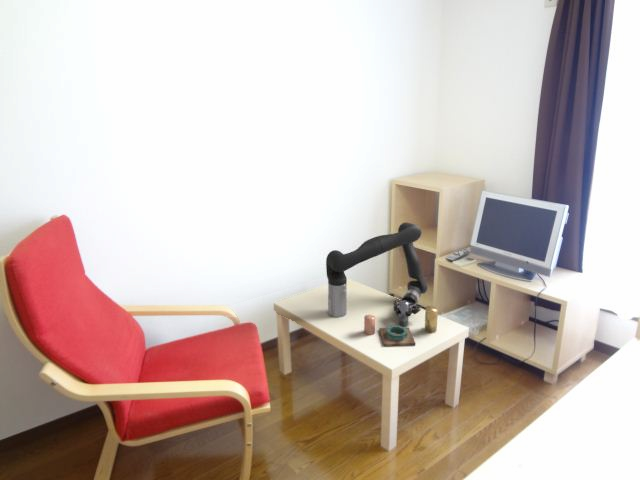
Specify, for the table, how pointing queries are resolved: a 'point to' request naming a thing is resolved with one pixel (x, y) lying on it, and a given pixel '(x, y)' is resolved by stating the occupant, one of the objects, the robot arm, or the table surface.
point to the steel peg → (403, 313)
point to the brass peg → (431, 319)
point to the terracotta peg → (369, 324)
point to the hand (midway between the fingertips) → (402, 314)
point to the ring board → (396, 336)
